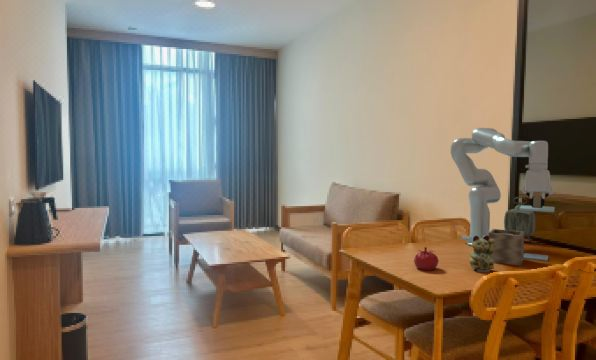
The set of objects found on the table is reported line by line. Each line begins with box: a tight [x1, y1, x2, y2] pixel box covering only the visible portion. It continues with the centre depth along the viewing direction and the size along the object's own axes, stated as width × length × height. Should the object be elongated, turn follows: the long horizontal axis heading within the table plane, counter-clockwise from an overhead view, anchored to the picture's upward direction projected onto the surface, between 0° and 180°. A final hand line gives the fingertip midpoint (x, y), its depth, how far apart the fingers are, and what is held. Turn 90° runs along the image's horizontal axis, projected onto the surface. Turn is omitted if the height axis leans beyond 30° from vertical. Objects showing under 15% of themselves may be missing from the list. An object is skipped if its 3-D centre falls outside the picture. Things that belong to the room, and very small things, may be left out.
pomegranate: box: [413, 246, 440, 271], centre depth 174 cm, size 10×10×9 cm
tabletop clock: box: [503, 196, 537, 243], centre depth 230 cm, size 14×9×25 cm, turn 49°
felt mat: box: [523, 252, 549, 262], centre depth 193 cm, size 10×10×1 cm
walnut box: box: [489, 228, 525, 266], centre depth 187 cm, size 13×13×13 cm
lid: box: [519, 195, 556, 213], centre depth 192 cm, size 14×14×6 cm
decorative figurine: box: [468, 235, 495, 273], centre depth 172 cm, size 10×8×15 cm
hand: (537, 206), depth 192 cm, fingers closed on lid, 3 cm apart
